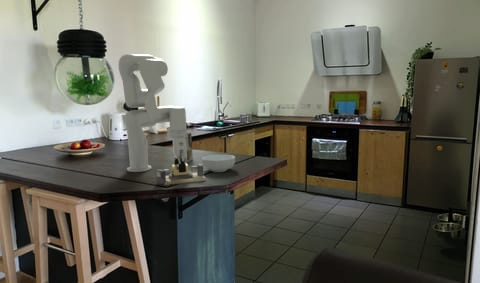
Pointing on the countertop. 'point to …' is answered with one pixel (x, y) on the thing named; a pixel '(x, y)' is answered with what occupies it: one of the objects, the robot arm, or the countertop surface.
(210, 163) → the cereal bowl
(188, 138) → the coffee box
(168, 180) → the shaft bench
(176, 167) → the coupler
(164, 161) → the countertop surface
